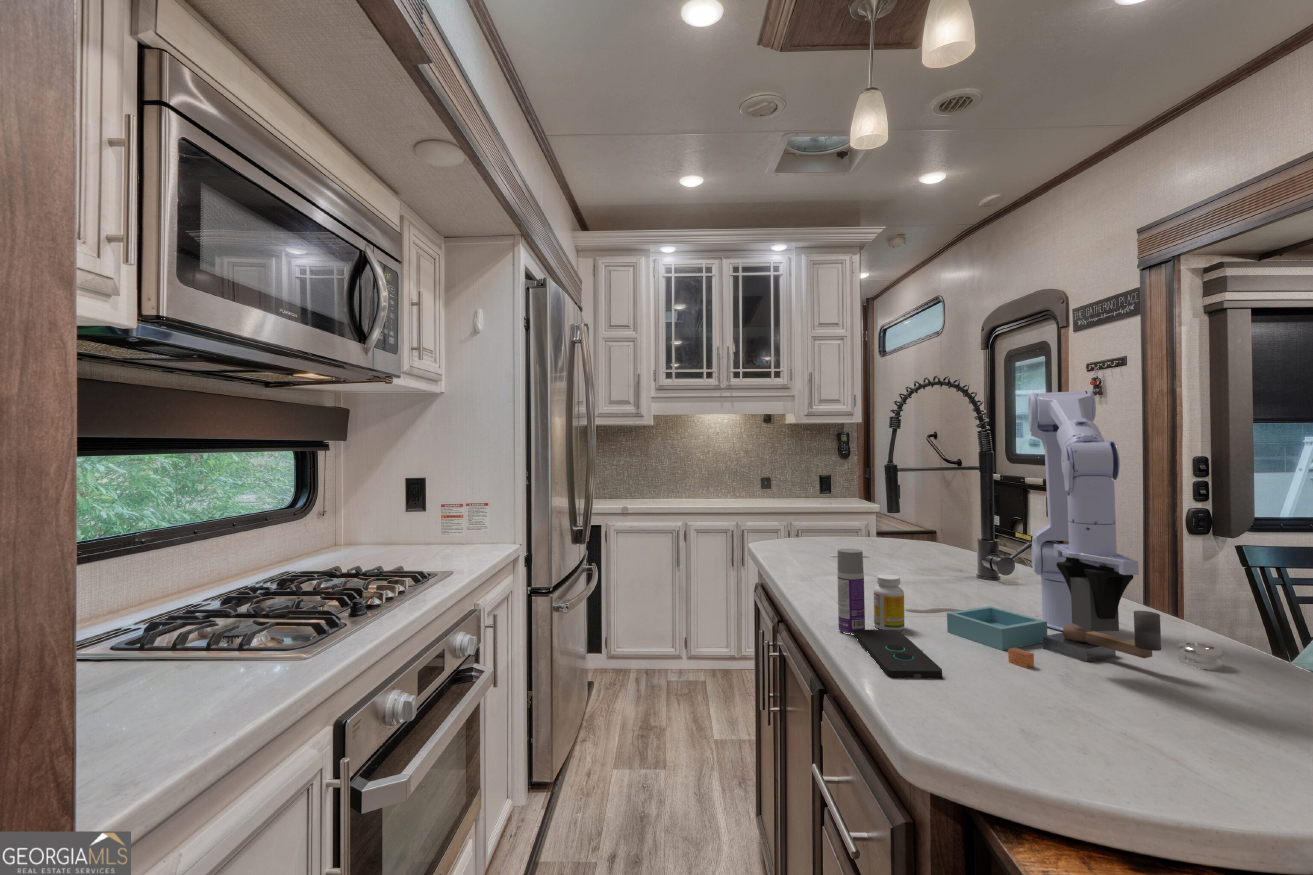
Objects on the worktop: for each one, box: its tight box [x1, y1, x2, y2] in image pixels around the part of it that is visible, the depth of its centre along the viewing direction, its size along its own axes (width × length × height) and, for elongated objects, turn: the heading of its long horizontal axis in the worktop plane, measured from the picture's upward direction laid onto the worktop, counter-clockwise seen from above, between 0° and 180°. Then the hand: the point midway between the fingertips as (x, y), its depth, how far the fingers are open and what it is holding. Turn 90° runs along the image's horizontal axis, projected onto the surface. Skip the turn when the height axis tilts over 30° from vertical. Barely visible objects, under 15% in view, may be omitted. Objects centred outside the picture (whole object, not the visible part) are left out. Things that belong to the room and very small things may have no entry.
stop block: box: [1071, 577, 1120, 632], centre depth 87 cm, size 4×4×7 cm
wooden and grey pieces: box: [1007, 632, 1117, 669], centre depth 94 cm, size 18×7×2 cm, turn 112°
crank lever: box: [1062, 610, 1162, 659], centre depth 91 cm, size 14×4×6 cm, turn 22°
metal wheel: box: [1177, 641, 1224, 671], centre depth 90 cm, size 5×3×5 cm
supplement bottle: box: [873, 574, 905, 632], centre depth 111 cm, size 5×5×10 cm
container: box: [837, 548, 866, 634], centre depth 109 cm, size 5×5×15 cm
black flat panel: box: [854, 629, 943, 680], centre depth 96 cm, size 8×2×20 cm
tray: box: [946, 605, 1048, 651], centre depth 104 cm, size 11×11×4 cm
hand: (1094, 613), depth 87 cm, fingers closed on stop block, 4 cm apart
